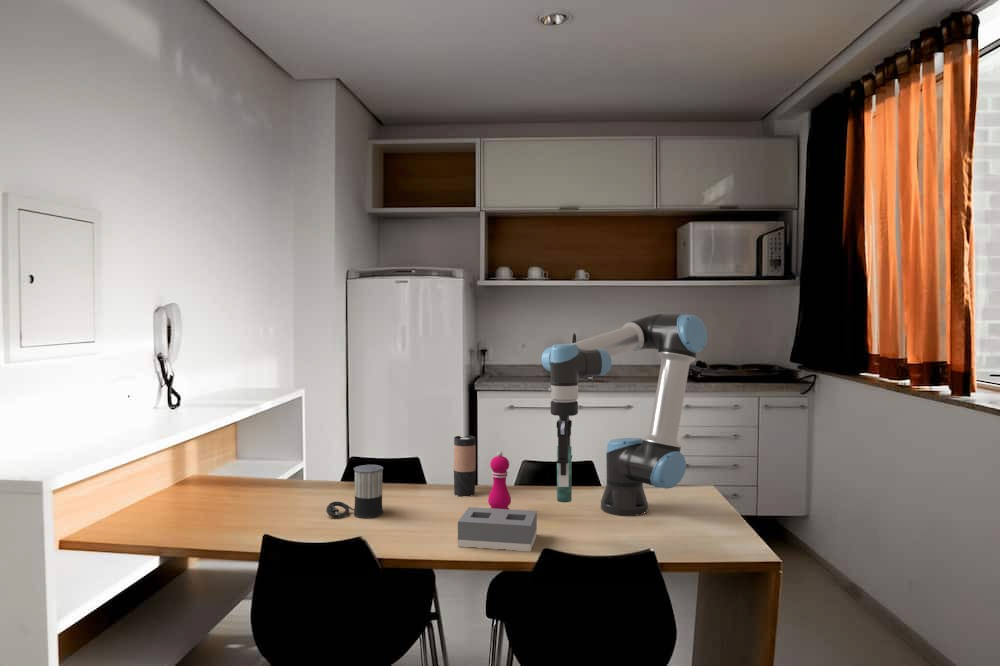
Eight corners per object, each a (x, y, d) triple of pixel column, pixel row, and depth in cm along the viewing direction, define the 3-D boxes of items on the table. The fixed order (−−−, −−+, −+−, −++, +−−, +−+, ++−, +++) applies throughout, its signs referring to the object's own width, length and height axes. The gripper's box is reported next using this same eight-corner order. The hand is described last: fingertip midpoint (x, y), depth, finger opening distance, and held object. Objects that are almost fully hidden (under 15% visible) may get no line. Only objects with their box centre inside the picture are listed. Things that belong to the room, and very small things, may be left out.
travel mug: (467, 498, 239) (467, 440, 239) (449, 494, 243) (449, 437, 243) (479, 493, 246) (480, 436, 245) (461, 490, 250) (462, 434, 249)
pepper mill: (508, 518, 217) (508, 454, 216) (485, 516, 218) (486, 453, 218) (512, 511, 224) (513, 449, 223) (490, 510, 226) (491, 448, 225)
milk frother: (389, 514, 220) (389, 467, 220) (347, 525, 209) (347, 476, 208) (362, 505, 230) (362, 460, 230) (320, 515, 219) (320, 468, 218)
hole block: (536, 535, 201) (536, 510, 201) (530, 551, 187) (530, 525, 187) (468, 530, 205) (468, 507, 204) (457, 546, 191) (457, 521, 191)
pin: (571, 498, 195) (571, 445, 195) (571, 502, 191) (571, 448, 191) (557, 498, 196) (557, 445, 195) (556, 502, 192) (556, 448, 191)
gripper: (553, 395, 201) (553, 476, 203) (547, 404, 185) (547, 491, 186) (579, 396, 200) (579, 477, 201) (575, 405, 183) (575, 493, 185)
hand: (564, 484), depth 194 cm, fingers closed on pin, 4 cm apart
